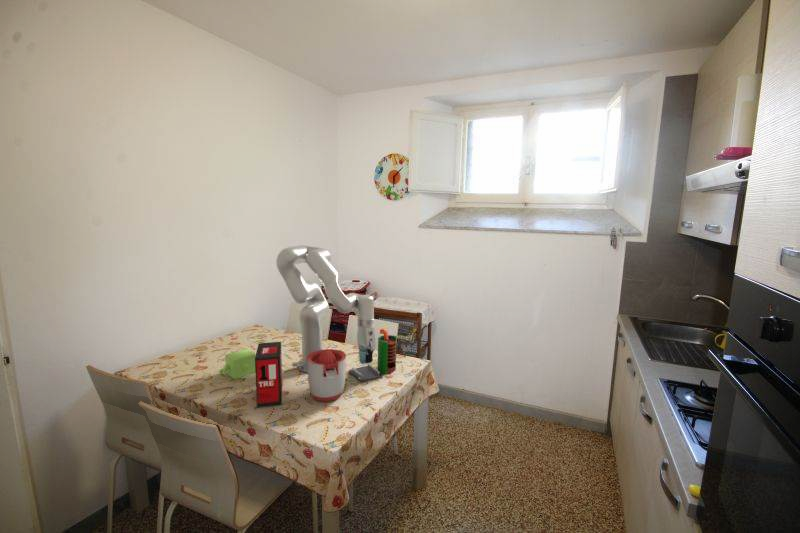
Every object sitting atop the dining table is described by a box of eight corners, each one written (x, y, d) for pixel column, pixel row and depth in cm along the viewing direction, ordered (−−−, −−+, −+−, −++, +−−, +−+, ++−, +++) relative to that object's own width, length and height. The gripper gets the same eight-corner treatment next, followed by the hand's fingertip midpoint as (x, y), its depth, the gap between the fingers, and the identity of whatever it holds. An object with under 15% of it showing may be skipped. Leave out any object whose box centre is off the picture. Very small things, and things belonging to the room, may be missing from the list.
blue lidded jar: (362, 364, 163) (362, 350, 162) (356, 360, 169) (356, 345, 168) (374, 362, 167) (374, 347, 166) (368, 357, 172) (368, 343, 171)
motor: (393, 374, 169) (394, 333, 166) (374, 372, 171) (375, 332, 168) (397, 366, 179) (398, 327, 176) (380, 364, 181) (380, 325, 178)
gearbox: (224, 384, 158) (223, 364, 156) (216, 376, 164) (214, 357, 163) (264, 371, 171) (263, 352, 169) (254, 364, 177) (253, 346, 175)
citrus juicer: (312, 410, 137) (311, 360, 134) (304, 390, 153) (303, 345, 150) (352, 402, 144) (351, 354, 141) (341, 383, 159) (340, 340, 156)
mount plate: (361, 383, 160) (361, 377, 160) (348, 372, 171) (348, 367, 171) (382, 377, 166) (382, 372, 166) (369, 367, 177) (369, 362, 177)
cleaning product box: (260, 388, 154) (258, 343, 151) (282, 385, 157) (281, 341, 154) (257, 408, 139) (254, 358, 136) (281, 404, 141) (279, 356, 138)
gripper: (382, 325, 160) (381, 364, 162) (364, 316, 174) (364, 352, 177) (367, 328, 156) (366, 368, 158) (350, 318, 170) (350, 355, 173)
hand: (365, 359), depth 168 cm, fingers closed on blue lidded jar, 6 cm apart
